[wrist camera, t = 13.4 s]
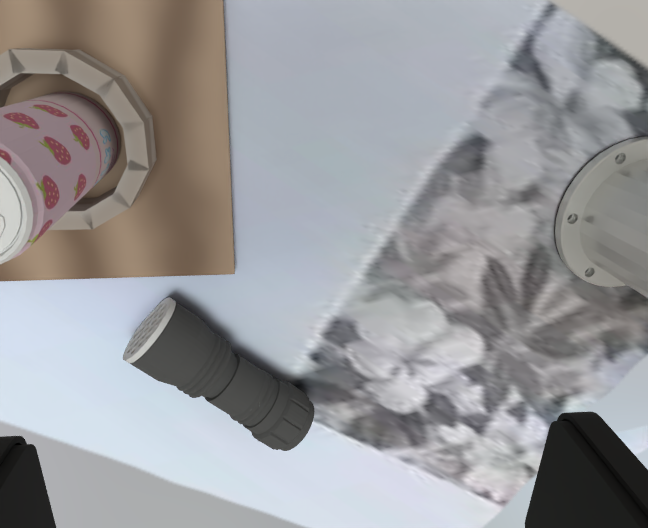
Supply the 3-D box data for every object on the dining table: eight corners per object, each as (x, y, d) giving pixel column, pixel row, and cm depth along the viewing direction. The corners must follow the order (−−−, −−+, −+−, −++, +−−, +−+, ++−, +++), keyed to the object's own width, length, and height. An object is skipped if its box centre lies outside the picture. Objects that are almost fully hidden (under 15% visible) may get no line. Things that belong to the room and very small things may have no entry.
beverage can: (110, 192, 34) (21, 293, 20) (19, 163, 32) (-143, 251, 19) (131, 111, 32) (49, 162, 19) (35, 76, 31) (-132, 104, 17)
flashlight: (316, 386, 44) (325, 429, 40) (275, 425, 46) (279, 471, 41) (174, 286, 39) (165, 321, 34) (131, 332, 40) (115, 373, 35)
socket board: (221, -32, 31) (219, -41, 27) (234, 268, 39) (233, 292, 35) (-148, -52, 28) (-207, -66, 24) (-51, 276, 36) (-85, 303, 32)
